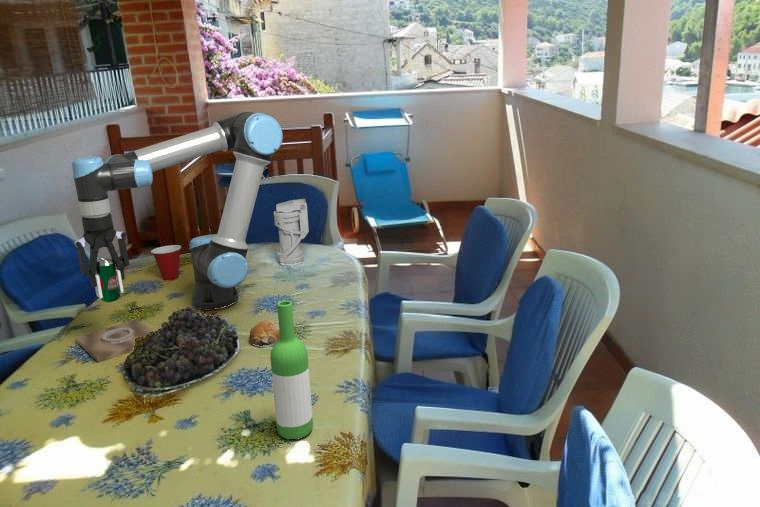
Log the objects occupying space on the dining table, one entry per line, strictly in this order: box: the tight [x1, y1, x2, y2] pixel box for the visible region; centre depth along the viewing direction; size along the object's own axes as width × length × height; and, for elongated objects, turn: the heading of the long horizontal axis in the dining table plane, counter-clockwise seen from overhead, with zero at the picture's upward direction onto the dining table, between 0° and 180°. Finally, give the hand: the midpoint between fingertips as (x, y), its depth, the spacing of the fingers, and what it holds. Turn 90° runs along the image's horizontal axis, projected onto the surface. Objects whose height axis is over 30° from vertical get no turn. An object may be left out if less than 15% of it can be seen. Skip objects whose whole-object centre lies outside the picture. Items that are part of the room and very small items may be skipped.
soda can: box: [96, 257, 121, 303], centre depth 169 cm, size 5×5×12 cm
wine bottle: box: [269, 300, 314, 440], centre depth 125 cm, size 8×8×30 cm
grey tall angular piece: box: [273, 198, 309, 264], centre depth 237 cm, size 13×10×25 cm
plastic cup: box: [150, 244, 182, 281], centre depth 225 cm, size 11×11×12 cm
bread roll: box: [249, 318, 280, 346], centre depth 173 cm, size 10×10×8 cm
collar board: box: [75, 319, 154, 363], centre depth 175 cm, size 18×18×2 cm
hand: (110, 293), depth 170 cm, fingers closed on soda can, 5 cm apart
